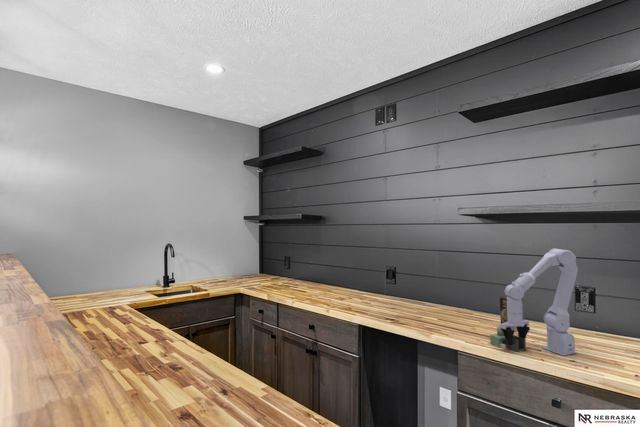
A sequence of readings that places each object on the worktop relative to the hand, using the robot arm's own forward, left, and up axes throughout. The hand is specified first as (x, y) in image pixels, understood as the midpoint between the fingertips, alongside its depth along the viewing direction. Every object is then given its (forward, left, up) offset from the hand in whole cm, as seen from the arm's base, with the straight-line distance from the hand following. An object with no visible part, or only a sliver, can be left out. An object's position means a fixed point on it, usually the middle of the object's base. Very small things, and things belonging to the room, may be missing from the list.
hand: (515, 343), depth 151 cm
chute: (0, 0, -2) cm, 3 cm away
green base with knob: (+5, 0, -2) cm, 6 cm away
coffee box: (+22, -23, -3) cm, 32 cm away
